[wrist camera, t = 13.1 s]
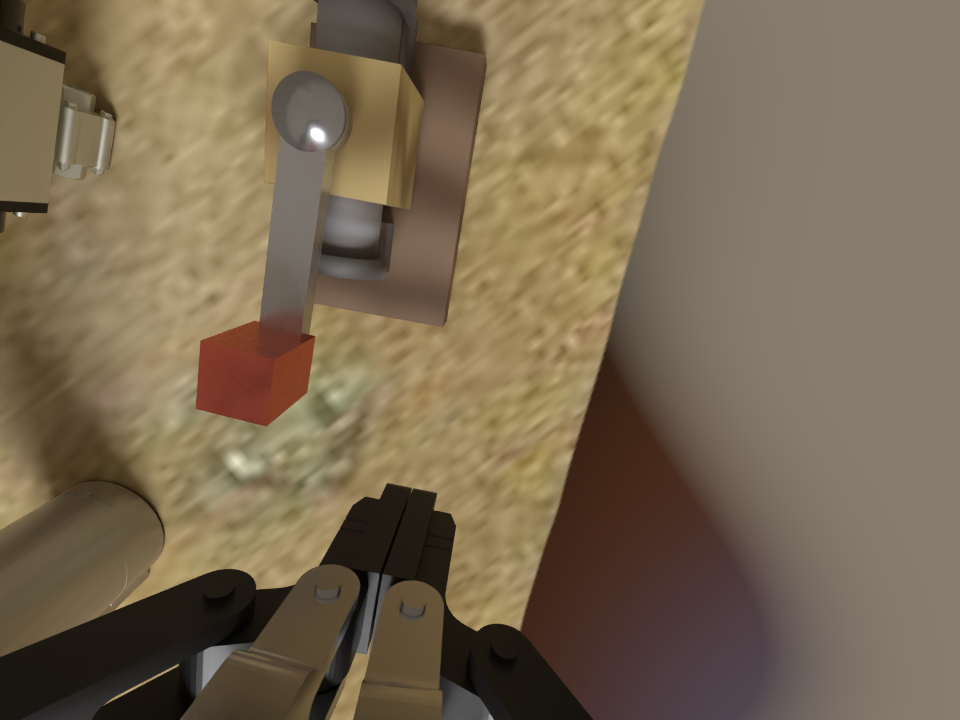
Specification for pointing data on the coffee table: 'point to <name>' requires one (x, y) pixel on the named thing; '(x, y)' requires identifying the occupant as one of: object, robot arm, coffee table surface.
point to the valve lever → (282, 263)
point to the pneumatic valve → (42, 120)
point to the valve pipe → (388, 156)
